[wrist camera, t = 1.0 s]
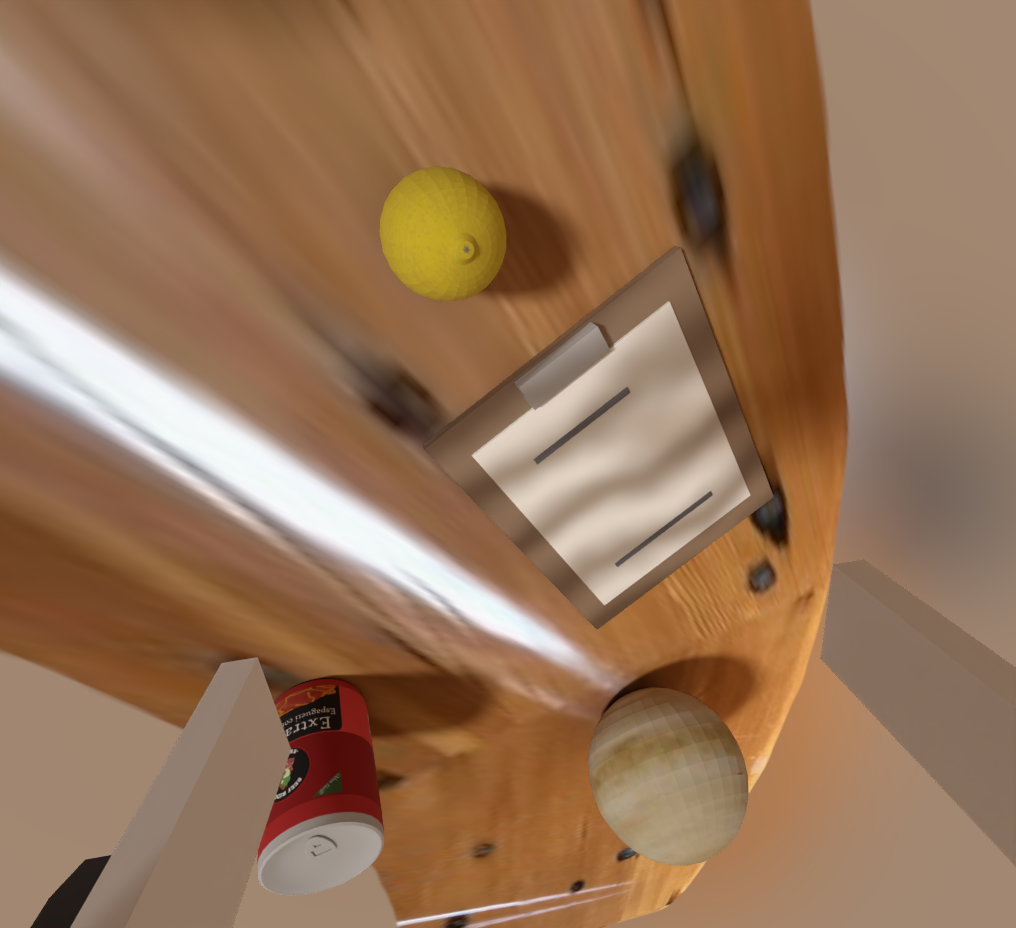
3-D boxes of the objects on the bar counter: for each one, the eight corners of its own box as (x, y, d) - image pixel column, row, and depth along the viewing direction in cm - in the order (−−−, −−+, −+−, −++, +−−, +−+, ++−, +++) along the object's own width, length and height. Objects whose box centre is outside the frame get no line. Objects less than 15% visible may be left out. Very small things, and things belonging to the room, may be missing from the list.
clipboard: (422, 445, 33) (427, 456, 32) (674, 246, 32) (689, 250, 31) (594, 624, 49) (601, 637, 47) (768, 493, 48) (781, 502, 47)
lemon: (494, 241, 29) (553, 269, 22) (412, 301, 29) (447, 346, 22) (438, 139, 25) (488, 137, 19) (346, 207, 26) (364, 227, 19)
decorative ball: (705, 650, 58) (814, 783, 46) (654, 738, 64) (738, 876, 52) (590, 662, 52) (682, 820, 39) (546, 759, 58) (614, 921, 46)
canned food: (331, 660, 40) (342, 807, 31) (384, 707, 45) (407, 846, 36) (240, 712, 39) (225, 877, 31) (304, 754, 44) (307, 908, 35)
